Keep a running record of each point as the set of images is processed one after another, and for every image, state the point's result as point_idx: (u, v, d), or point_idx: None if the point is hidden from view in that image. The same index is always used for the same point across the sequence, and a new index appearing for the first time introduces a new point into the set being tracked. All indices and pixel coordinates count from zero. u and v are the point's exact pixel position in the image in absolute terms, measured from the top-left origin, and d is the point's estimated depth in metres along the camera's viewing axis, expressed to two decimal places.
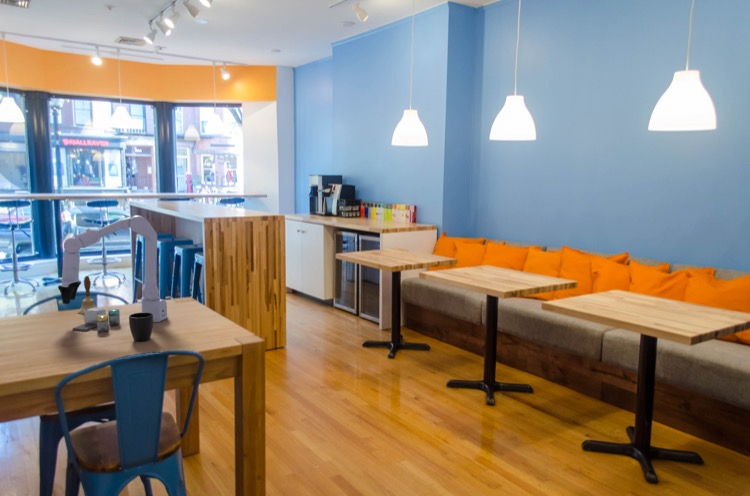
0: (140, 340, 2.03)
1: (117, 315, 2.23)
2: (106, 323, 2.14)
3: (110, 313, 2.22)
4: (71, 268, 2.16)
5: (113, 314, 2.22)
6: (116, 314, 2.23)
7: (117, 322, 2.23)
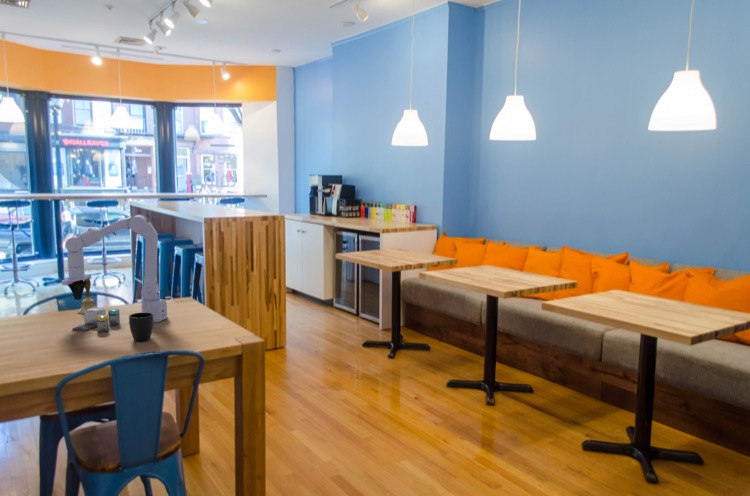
0: (140, 340, 2.03)
1: (117, 315, 2.23)
2: (106, 323, 2.14)
3: (110, 313, 2.22)
4: (75, 267, 2.20)
5: (113, 314, 2.22)
6: (116, 314, 2.23)
7: (117, 322, 2.23)
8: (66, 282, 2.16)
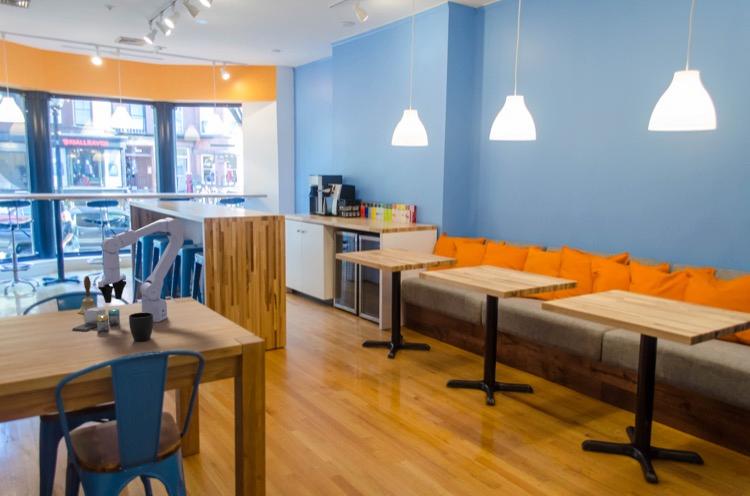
0: (140, 340, 2.03)
1: (117, 315, 2.23)
2: (106, 323, 2.14)
3: (110, 313, 2.22)
4: (114, 268, 2.19)
5: (113, 314, 2.22)
6: (116, 314, 2.23)
7: (117, 322, 2.23)
8: (103, 283, 2.15)
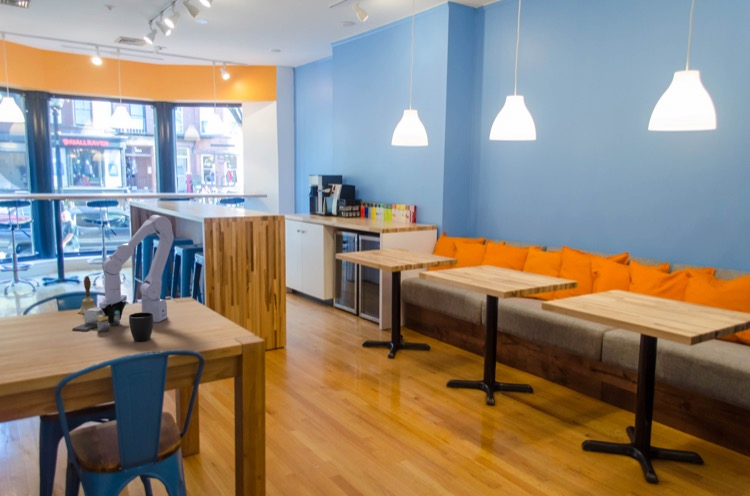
0: (140, 340, 2.03)
1: (117, 315, 2.23)
2: (106, 323, 2.14)
3: None
4: (115, 289, 2.20)
5: None
6: (116, 314, 2.23)
7: (117, 322, 2.23)
8: (104, 305, 2.16)
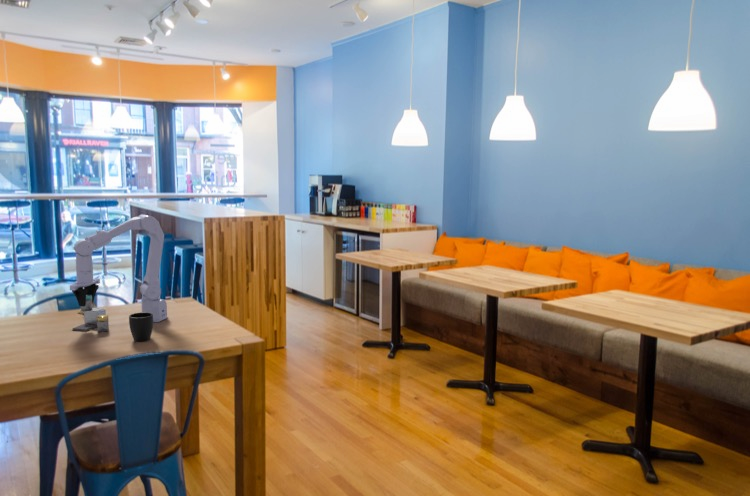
0: (140, 340, 2.03)
1: (90, 300, 2.16)
2: (106, 323, 2.14)
3: None
4: (87, 271, 2.13)
5: (86, 299, 2.15)
6: (89, 299, 2.16)
7: (90, 307, 2.17)
8: (74, 287, 2.09)
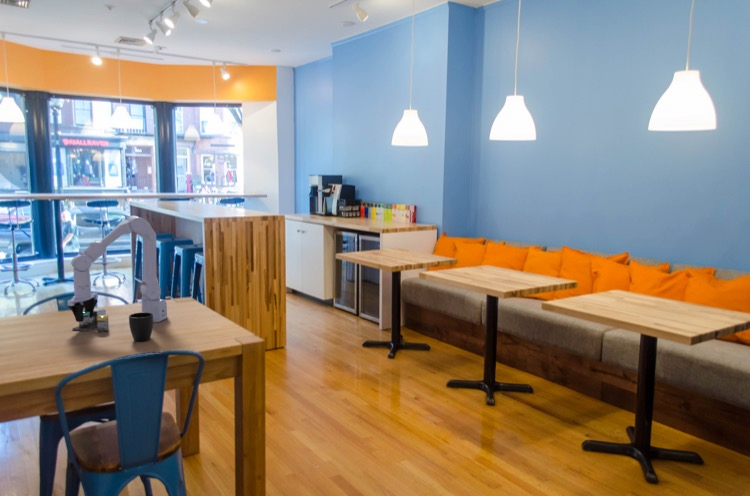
0: (140, 340, 2.03)
1: (88, 317, 2.17)
2: (106, 323, 2.14)
3: None
4: (84, 286, 2.14)
5: (84, 316, 2.16)
6: (87, 316, 2.16)
7: (88, 324, 2.17)
8: (72, 302, 2.10)
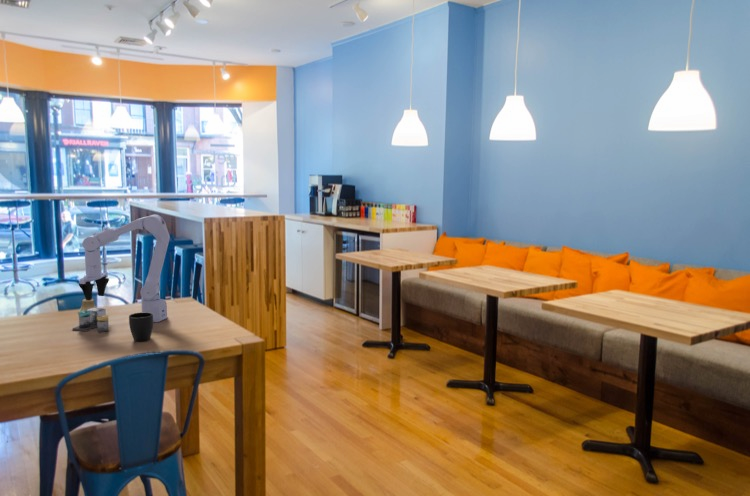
0: (140, 340, 2.03)
1: (88, 316, 2.17)
2: (106, 323, 2.14)
3: (81, 314, 2.15)
4: (92, 265, 2.23)
5: (84, 315, 2.16)
6: (87, 315, 2.16)
7: (88, 324, 2.17)
8: (84, 281, 2.19)
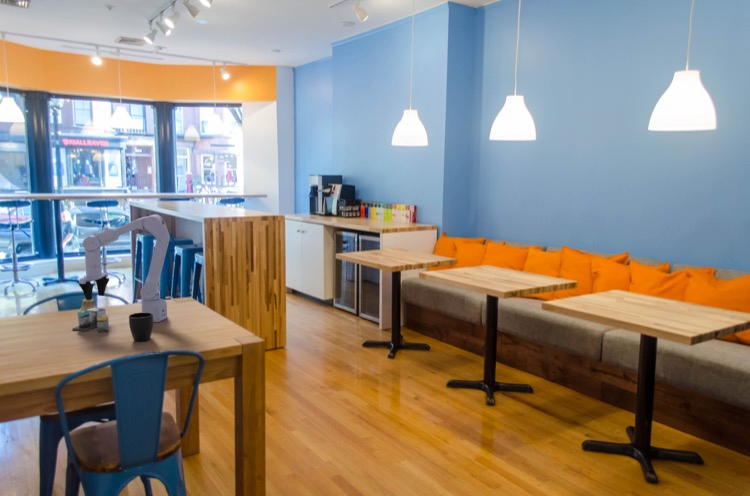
0: (140, 340, 2.03)
1: (88, 316, 2.17)
2: (106, 323, 2.14)
3: (80, 315, 2.15)
4: (92, 265, 2.23)
5: (84, 316, 2.15)
6: (87, 315, 2.16)
7: (88, 323, 2.17)
8: (84, 280, 2.20)
